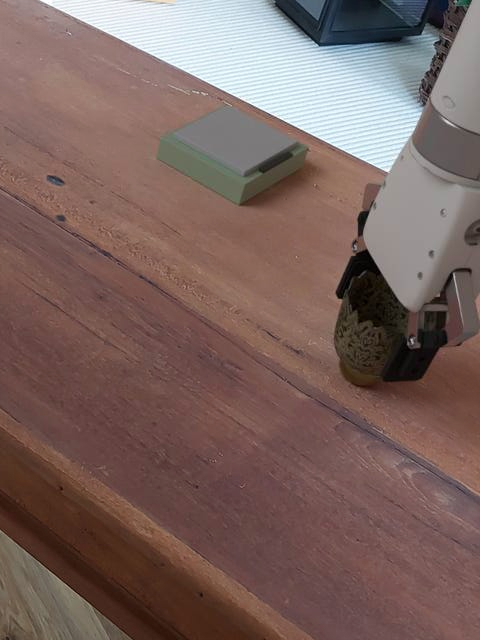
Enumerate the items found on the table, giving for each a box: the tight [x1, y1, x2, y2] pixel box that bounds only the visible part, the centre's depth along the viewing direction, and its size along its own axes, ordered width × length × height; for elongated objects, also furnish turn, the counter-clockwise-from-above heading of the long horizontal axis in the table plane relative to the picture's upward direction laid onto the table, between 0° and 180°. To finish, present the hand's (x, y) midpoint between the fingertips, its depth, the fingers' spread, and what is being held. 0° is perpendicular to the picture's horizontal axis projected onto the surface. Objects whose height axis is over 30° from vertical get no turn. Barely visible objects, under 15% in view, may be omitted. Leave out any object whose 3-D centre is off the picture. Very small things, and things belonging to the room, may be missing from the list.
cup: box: [333, 270, 440, 387], centre depth 71 cm, size 8×7×8 cm
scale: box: [156, 104, 310, 206], centre depth 93 cm, size 11×11×3 cm
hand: (375, 336), depth 71 cm, fingers open, 9 cm apart
